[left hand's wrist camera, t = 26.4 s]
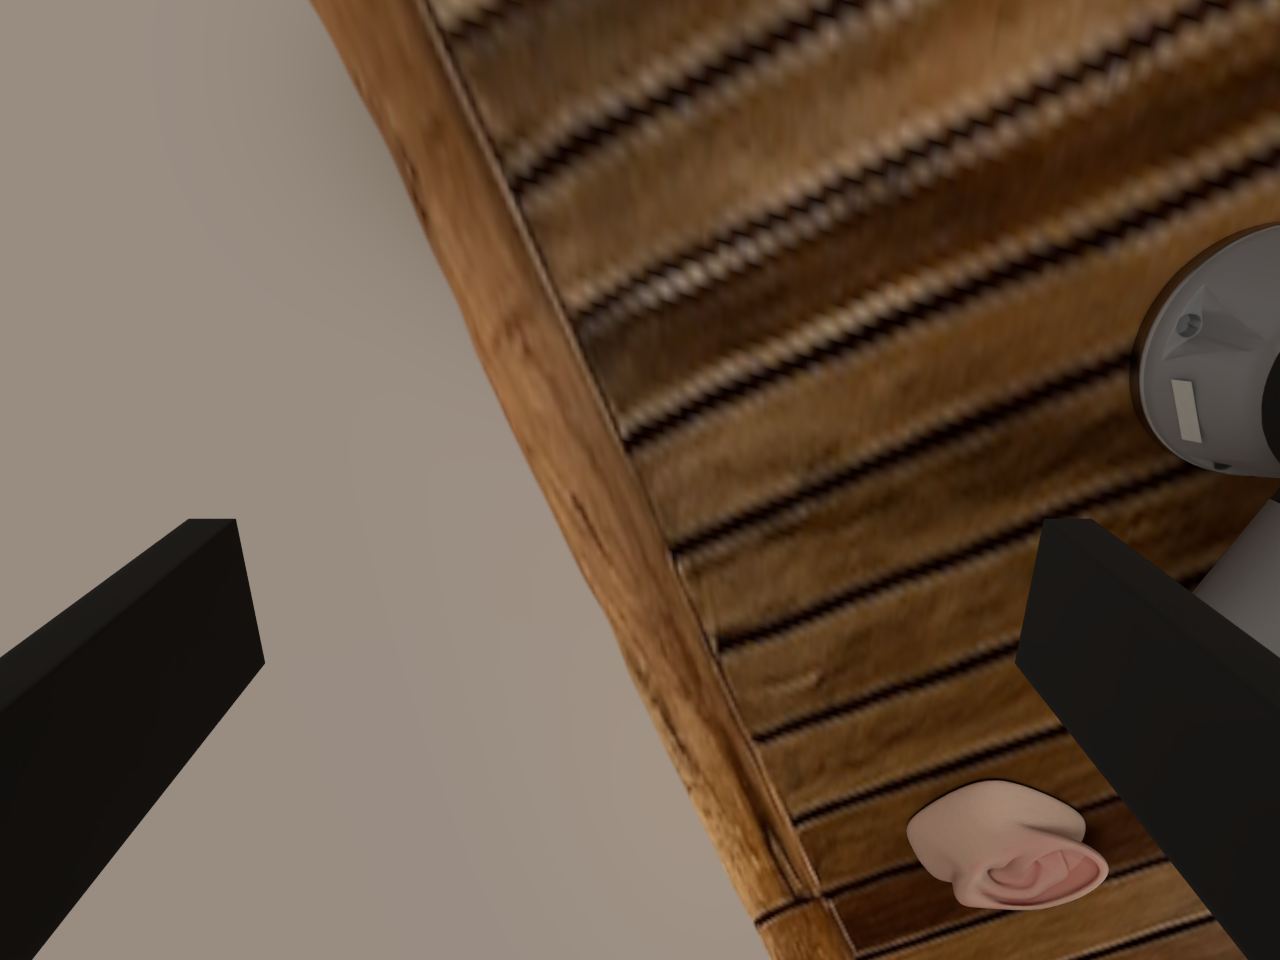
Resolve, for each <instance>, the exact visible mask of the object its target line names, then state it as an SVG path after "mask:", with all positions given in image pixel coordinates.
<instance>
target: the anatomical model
mask: <svg viewBox="0 0 1280 960" xmlns="http://www.w3.org/2000/svg"><path fill="white" fill-rule="evenodd" d="M1085 830H1086V825H1085V821H1084V819H1083V817H1082V816H1081V815H1080V814H1079V813H1078V812H1077V811H1075V810H1074V809H1072V808H1071V807H1069V806H1068V805H1066V804H1064V803H1063V802H1061V801H1059V800H1057V799H1055V798H1053V797H1050V796H1048V795H1046V794H1043V793H1041V792H1039V791H1036V790H1034V789H1031V788H1028V787H1025V786H1022V785H1019V784H1015V783H1011V782H1006V781H998V780H991V781H982V782H977V783H974V784H970V785H967V786H965V787H962V788H959V789H957V790H955V791H953V792H951V793H949V794H947V795H945V796H943V797H941V798H940V799H938V800H936V801H935V802H933V803H931V804H930V805H928V806H927V807H925V808H924V809H923V810H921V811H920V812H919V813H917V814H916V815H915V816H914V817H913V818H912V819H911V820H910V822H909V824H908V826H907V836H908V839H909V842H910V844H911V846H912V848H913V850H914V852H915V853H916V855H917V857H918V859H919V860H920V862H921V863H922V864H923V866H924V867H925V868H926V869H927V870H928V871H929V872H930V873H931V874H932V875H933V876H934V877H936V878H938V879H940V880H943V881H947V882H952V884H953V890H954V894H955V897H956V898H957V900H958V901H959V902H960V903H961V904H963V905H965V906H969V907H978V908H994V909H1010V910H1034V909H1043V908H1049V907H1052V906H1056V905H1060V904H1063V903H1066V902H1069V901H1072V900H1075V899H1077V898H1079V897H1081V896H1083V895H1085V894H1087V893H1089V892H1090V891H1092V890H1093V889H1095V888H1096V887H1097V886H1098V885H1100V884H1101V883H1102V882H1103V881H1104V879H1105V878H1106V876H1107V874H1108V865H1107V863H1106V861H1105V859H1104V858H1103V857H1102V856H1101V855H1100V854H1099V853H1098V852H1097V851H1095V850H1094V849H1092V848H1091V847H1089V846H1087V845H1086V844H1084V843H1082V839H1083V837H1084V834H1085Z"/></svg>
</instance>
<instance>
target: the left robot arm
mask: <svg viewBox="0 0 1280 960" xmlns="http://www.w3.org/2000/svg"><path fill="white" fill-rule="evenodd" d="M1130 388H1131V396H1132V400H1133V404H1134V407H1135V410H1136V413H1137V415H1138V417H1139V419H1140V421H1141V423H1142V425H1143V426H1144V428H1145V429H1146V431H1147V432H1148V434H1149V435H1150V436H1151V437H1152V438H1153V439H1154V440H1155V441H1156V442H1157V443H1158V444H1159V445H1160V446H1162V447H1163V448H1164V449H1166V450H1167V451H1169V452H1170V453H1172V454H1174V455H1176V456H1178V457H1180V458H1182V459H1184V460H1186V461H1188V462H1190V463H1192V464H1194V465H1196V466H1199V467H1202V468H1205V469H1209V470H1212V471H1216V472H1220V473H1224V474H1231V475H1241V476H1257V477H1270V478H1280V222H1274V223H1267V224H1263V225H1259V226H1255V227H1252V228H1249V229H1246V230H1243V231H1240V232H1238V233H1235V234H1233V235H1231V236H1229V237H1227V238H1225V239H1223V240H1221V241H1219V242H1217V243H1215V244H1214V245H1212V246H1211V247H1209V248H1208V249H1206V250H1204V251H1203V252H1202V253H1200V254H1199V255H1198V256H1196V257H1195V258H1194V259H1192V260H1191V261H1190V262H1189V263H1188V264H1187V265H1185V266H1184V267H1183V268H1182V269H1181V270H1180V271H1179V272H1178V273H1177V274H1176V275H1175V276H1174V277H1173V278H1172V279H1171V280H1170V282H1169V283H1168V284H1167V285H1166V286H1165V288H1164V289H1163V290H1162V291H1161V293H1160V294H1159V295H1158V297H1157V298H1156V300H1155V301H1154V303H1153V304H1152V306H1151V308H1150V309H1149V311H1148V313H1147V315H1146V317H1145V319H1144V321H1143V323H1142V325H1141V327H1140V330H1139V333H1138V335H1137V338H1136V341H1135V345H1134V348H1133V353H1132V358H1131V366H1130ZM264 664H265V660H264V655H263V650H262V645H261V641H260V635H259V631H258V626H257V621H256V616H255V611H254V606H253V601H252V596H251V591H250V586H249V581H248V576H247V571H246V567H245V562H244V557H243V552H242V547H241V542H240V537H239V532H238V527H237V522H236V519H188V520H186V521H185V522H184V523H182V524H181V525H180V526H178V527H177V528H176V529H174V530H173V531H171V532H170V533H169V534H167V535H166V536H165V537H163V538H162V539H161V540H159V541H158V542H156V543H155V544H154V545H152V546H151V547H150V548H148V549H147V550H146V551H144V552H143V553H142V554H140V555H139V556H137V557H136V558H135V559H133V560H132V561H131V562H129V563H128V564H127V565H125V566H124V567H123V568H121V569H120V570H119V571H117V572H116V573H114V574H113V575H112V576H110V577H109V578H108V579H106V580H105V581H104V582H102V583H101V584H100V585H98V586H97V587H95V588H94V589H93V590H91V591H90V592H89V593H87V594H86V595H85V596H83V597H82V598H80V599H79V600H78V601H76V602H75V603H74V604H72V605H71V606H70V607H68V608H67V609H66V610H64V611H63V612H61V613H60V614H59V615H57V616H56V617H55V618H53V619H52V620H51V621H49V622H48V623H47V624H45V625H44V626H42V627H41V628H40V629H38V630H37V631H36V632H34V633H33V634H32V635H30V636H29V637H28V638H26V639H25V640H23V641H22V642H21V643H19V644H18V645H17V646H15V647H14V648H13V649H11V650H10V651H8V652H7V653H6V654H4V655H3V656H2V657H0V960H32V959H33V958H34V957H35V955H36V954H37V953H38V951H39V950H40V949H41V948H42V946H43V945H44V944H45V943H46V941H47V940H48V939H49V937H50V936H51V935H52V934H53V932H54V931H55V930H56V929H57V927H58V926H59V925H60V923H61V922H62V921H63V920H64V918H65V917H66V916H67V915H68V913H69V912H70V911H71V910H72V908H73V907H74V906H75V904H76V903H77V902H78V901H79V899H80V898H81V897H82V895H83V894H84V893H85V892H86V890H87V889H88V888H89V887H90V885H91V884H92V883H93V882H94V880H95V879H96V878H97V876H98V875H99V874H100V873H101V871H102V870H103V869H104V868H105V866H106V865H107V864H108V862H109V861H110V860H111V859H112V857H113V856H114V855H115V854H116V852H117V851H118V850H119V848H120V847H121V846H122V845H123V843H124V842H125V841H126V839H127V838H128V837H129V836H130V834H131V833H132V832H133V831H134V829H135V828H136V827H137V826H138V824H139V823H140V822H141V820H142V819H143V818H144V817H145V815H146V814H147V813H148V812H149V810H150V809H151V808H152V806H153V805H154V804H155V803H156V801H157V800H158V799H159V798H160V796H161V795H162V794H163V792H164V791H165V790H166V789H167V787H168V786H169V785H170V784H171V782H172V781H173V780H174V778H175V777H176V776H177V775H178V773H179V772H180V771H181V770H182V768H183V767H184V766H185V764H186V763H187V762H188V761H189V759H190V758H191V757H192V756H193V754H194V753H195V752H196V751H197V749H198V748H199V747H200V745H201V744H202V743H203V742H204V740H205V739H206V738H207V736H208V735H209V734H210V733H211V731H212V730H213V729H214V728H215V726H216V725H217V724H218V722H219V721H220V720H221V719H222V717H223V716H224V715H225V714H226V712H227V711H228V710H229V708H230V707H231V706H232V705H233V703H234V702H235V701H236V700H237V698H238V697H239V696H240V695H241V693H242V692H243V691H244V689H245V688H246V687H247V686H248V684H249V683H250V682H251V681H252V679H253V678H254V677H255V675H256V674H257V673H258V672H259V670H260V669H261V668H262V667H263V665H264ZM1015 664H1016V665H1017V667H1018V668H1019V669H1020V670H1021V672H1022V673H1023V674H1024V675H1025V677H1026V678H1027V679H1028V681H1029V682H1030V683H1031V684H1032V686H1033V687H1034V688H1035V689H1036V691H1037V692H1038V693H1039V695H1040V696H1041V697H1042V698H1043V700H1044V701H1045V702H1046V703H1047V705H1048V706H1049V707H1050V709H1051V710H1052V711H1053V712H1054V714H1055V715H1056V716H1057V717H1058V719H1059V720H1060V721H1061V723H1062V724H1063V725H1064V726H1065V728H1066V729H1067V730H1068V731H1069V733H1070V734H1071V735H1072V737H1073V738H1074V739H1075V740H1076V742H1077V743H1078V744H1079V745H1080V747H1081V748H1082V749H1083V751H1084V752H1085V753H1086V754H1087V756H1088V757H1089V758H1090V759H1091V761H1092V762H1093V763H1094V765H1095V766H1096V767H1097V768H1098V770H1099V771H1100V772H1101V773H1102V775H1103V776H1104V777H1105V778H1106V780H1107V781H1108V782H1109V784H1110V785H1111V786H1112V787H1113V789H1114V790H1115V791H1116V792H1117V794H1118V795H1119V796H1120V798H1121V799H1122V800H1123V801H1124V803H1125V804H1126V805H1127V806H1128V808H1129V809H1130V810H1131V812H1132V813H1133V814H1134V815H1135V817H1136V818H1137V819H1138V820H1139V822H1140V823H1141V824H1142V826H1143V827H1144V828H1145V829H1146V831H1147V832H1148V833H1149V834H1150V836H1151V837H1152V838H1153V840H1154V841H1155V842H1156V843H1157V845H1158V846H1159V847H1160V848H1161V850H1162V851H1163V852H1164V854H1165V855H1166V856H1167V857H1168V859H1169V860H1170V861H1171V862H1172V864H1173V865H1174V866H1175V868H1176V869H1177V870H1178V871H1179V873H1180V874H1181V875H1182V876H1183V878H1184V879H1185V880H1186V882H1187V883H1188V884H1189V885H1190V887H1191V888H1192V889H1193V890H1194V892H1195V893H1196V894H1197V896H1198V897H1199V898H1200V899H1201V901H1202V902H1203V903H1204V904H1205V906H1206V907H1207V908H1208V910H1209V911H1210V912H1211V913H1212V915H1213V916H1214V917H1215V918H1216V920H1217V921H1218V922H1219V923H1220V925H1221V926H1222V927H1223V929H1224V930H1225V931H1226V932H1227V934H1228V935H1229V936H1230V937H1231V939H1232V940H1233V941H1234V943H1235V944H1236V945H1237V946H1238V948H1239V949H1240V950H1241V951H1242V953H1243V954H1244V955H1245V957H1246V958H1247V959H1248V960H1280V488H1279V489H1278V490H1277V491H1276V493H1275V494H1274V495H1273V496H1272V497H1271V498H1270V499H1269V500H1268V501H1267V502H1266V504H1265V505H1264V506H1263V507H1262V508H1261V510H1260V511H1259V512H1258V513H1257V514H1256V516H1255V517H1254V518H1253V519H1252V521H1251V522H1250V523H1249V524H1248V525H1247V527H1246V528H1245V529H1244V530H1243V531H1242V533H1241V534H1240V535H1239V536H1238V538H1237V539H1236V540H1235V541H1234V542H1233V544H1232V545H1231V546H1230V547H1229V548H1228V550H1227V551H1226V552H1225V553H1224V554H1223V556H1222V557H1221V558H1220V559H1219V561H1218V562H1217V563H1216V564H1215V565H1214V567H1213V568H1212V569H1211V570H1210V571H1209V573H1208V574H1207V575H1206V576H1205V577H1204V579H1203V580H1202V581H1201V582H1200V584H1199V585H1198V586H1197V587H1196V588H1195V590H1194V591H1193V592H1192V593H1191V592H1190V591H1189V590H1187V589H1186V588H1185V587H1183V586H1182V585H1181V584H1179V583H1178V582H1176V581H1175V580H1174V579H1172V578H1171V577H1170V576H1168V575H1167V574H1166V573H1164V572H1163V571H1162V570H1160V569H1159V568H1157V567H1156V566H1155V565H1153V564H1152V563H1151V562H1149V561H1148V560H1147V559H1145V558H1144V557H1143V556H1141V555H1140V554H1138V553H1137V552H1136V551H1134V550H1133V549H1132V548H1130V547H1129V546H1128V545H1126V544H1125V543H1124V542H1122V541H1121V540H1119V539H1118V538H1117V537H1115V536H1114V535H1113V534H1111V533H1110V532H1109V531H1107V530H1106V529H1104V528H1103V527H1102V526H1100V525H1099V524H1098V523H1096V522H1095V521H1094V520H1092V519H1044V522H1043V527H1042V532H1041V537H1040V542H1039V547H1038V552H1037V557H1036V562H1035V567H1034V571H1033V576H1032V581H1031V586H1030V591H1029V596H1028V601H1027V606H1026V611H1025V616H1024V621H1023V626H1022V631H1021V635H1020V640H1019V645H1018V650H1017V655H1016V660H1015Z"/></svg>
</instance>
